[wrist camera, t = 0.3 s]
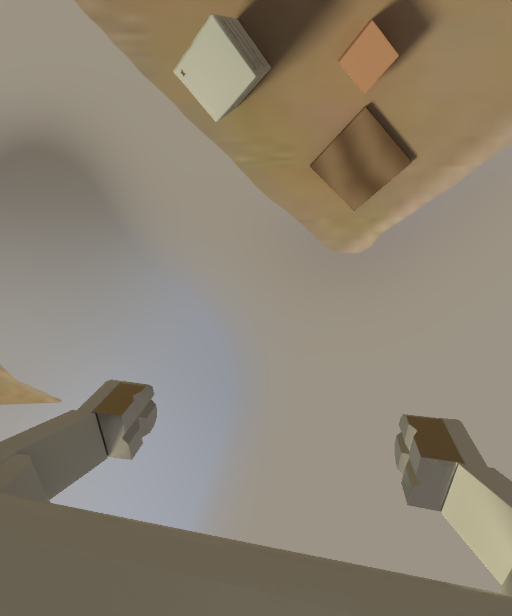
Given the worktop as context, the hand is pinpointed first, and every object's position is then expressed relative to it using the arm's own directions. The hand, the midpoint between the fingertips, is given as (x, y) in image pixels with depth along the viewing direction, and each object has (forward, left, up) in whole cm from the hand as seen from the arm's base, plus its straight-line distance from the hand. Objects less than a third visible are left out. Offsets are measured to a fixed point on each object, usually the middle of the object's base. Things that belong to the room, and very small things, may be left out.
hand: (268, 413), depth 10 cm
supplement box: (+3, -13, -50) cm, 52 cm away
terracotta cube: (-9, 0, -50) cm, 51 cm away
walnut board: (0, +10, -50) cm, 51 cm away
